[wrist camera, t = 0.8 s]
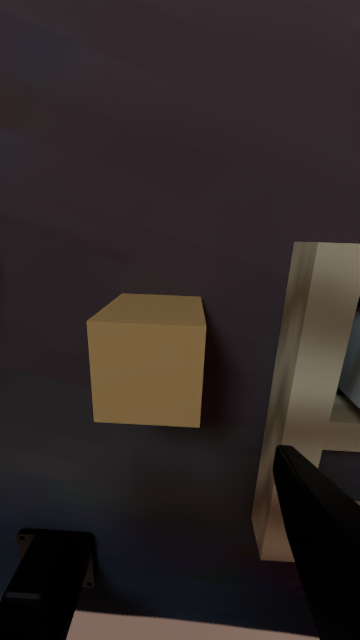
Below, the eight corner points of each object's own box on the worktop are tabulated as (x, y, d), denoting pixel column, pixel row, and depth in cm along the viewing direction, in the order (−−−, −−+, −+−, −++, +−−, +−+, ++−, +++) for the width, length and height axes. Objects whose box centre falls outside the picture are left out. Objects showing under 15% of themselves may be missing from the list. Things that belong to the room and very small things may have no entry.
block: (196, 367, 18) (199, 427, 12) (124, 364, 18) (94, 421, 12) (200, 296, 17) (206, 326, 11) (122, 293, 17) (86, 321, 11)
